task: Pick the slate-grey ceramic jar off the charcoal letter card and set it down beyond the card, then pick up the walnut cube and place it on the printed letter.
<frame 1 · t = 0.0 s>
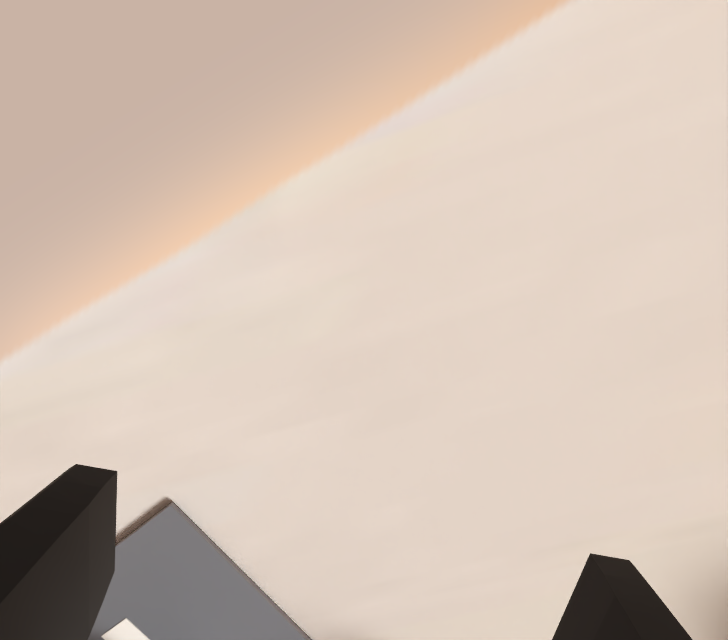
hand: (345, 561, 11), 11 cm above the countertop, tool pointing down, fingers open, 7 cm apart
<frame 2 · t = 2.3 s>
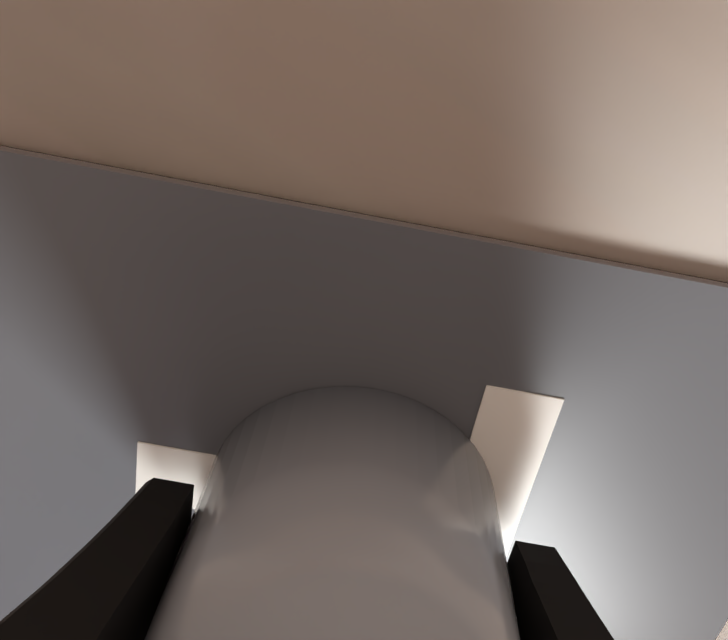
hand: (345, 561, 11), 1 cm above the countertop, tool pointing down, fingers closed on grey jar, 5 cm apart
letter card: (351, 499, 12), on the countertop
grey jar: (350, 508, 12), resting on letter card, touching gripper
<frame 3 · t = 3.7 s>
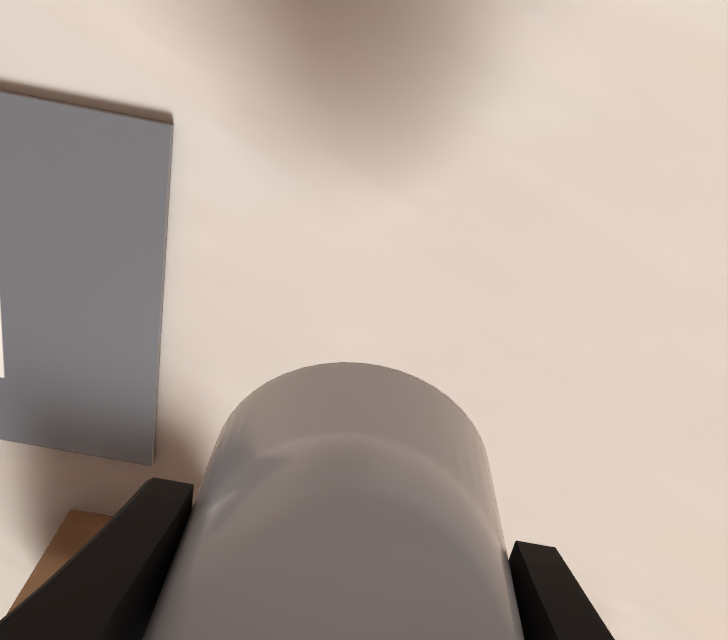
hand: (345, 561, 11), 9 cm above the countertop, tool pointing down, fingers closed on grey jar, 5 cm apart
grey jar: (350, 482, 12), point 7 cm above the countertop, touching gripper
walnut cube: (147, 578, 23), on the countertop
when the fingers open (3 cm above the countertop, at t = 5.3 s): grey jar drops 1 cm, on the countertop.
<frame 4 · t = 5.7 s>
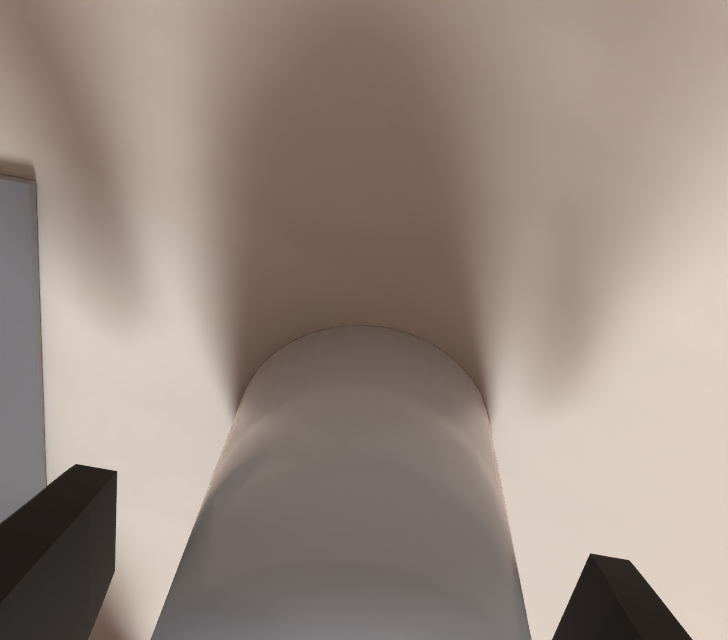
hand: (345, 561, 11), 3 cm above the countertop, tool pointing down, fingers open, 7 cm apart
grey jar: (362, 437, 13), on the countertop
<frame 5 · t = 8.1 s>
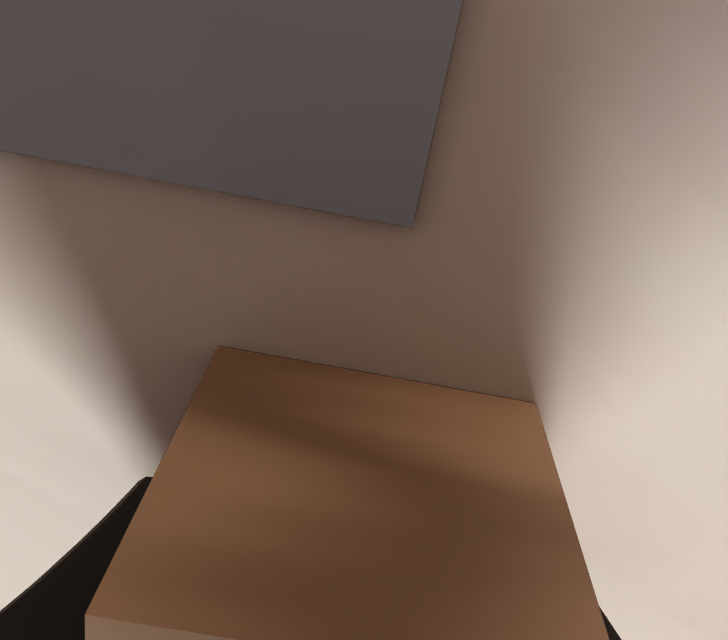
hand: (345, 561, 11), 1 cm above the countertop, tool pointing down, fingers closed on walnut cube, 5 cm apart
walnut cube: (351, 498, 12), on the countertop, touching gripper
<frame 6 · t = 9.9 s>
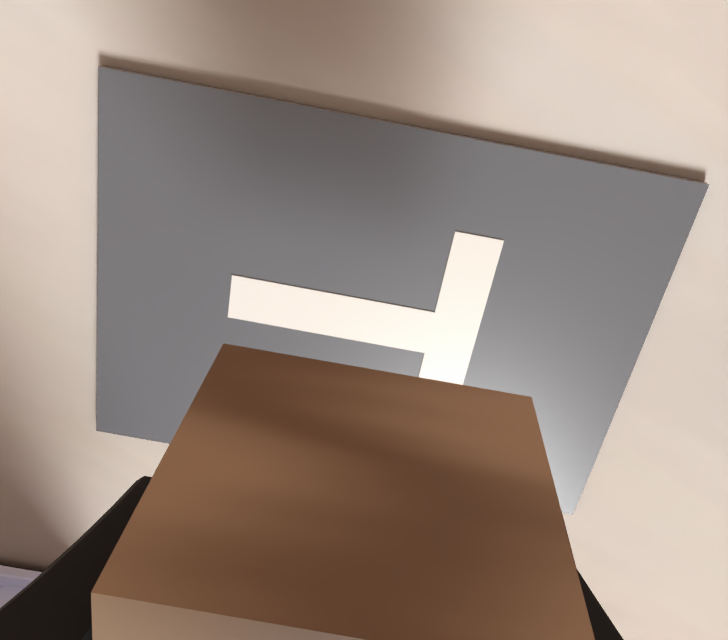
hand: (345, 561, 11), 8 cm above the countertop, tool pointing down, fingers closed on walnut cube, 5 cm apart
letter card: (368, 318, 18), on the countertop
walnut cube: (354, 490, 12), point 7 cm above the countertop, touching gripper
when the fingers open (3 cm above the countertop, at t = 11.4 s): walnut cube stays where it is, resting on letter card.
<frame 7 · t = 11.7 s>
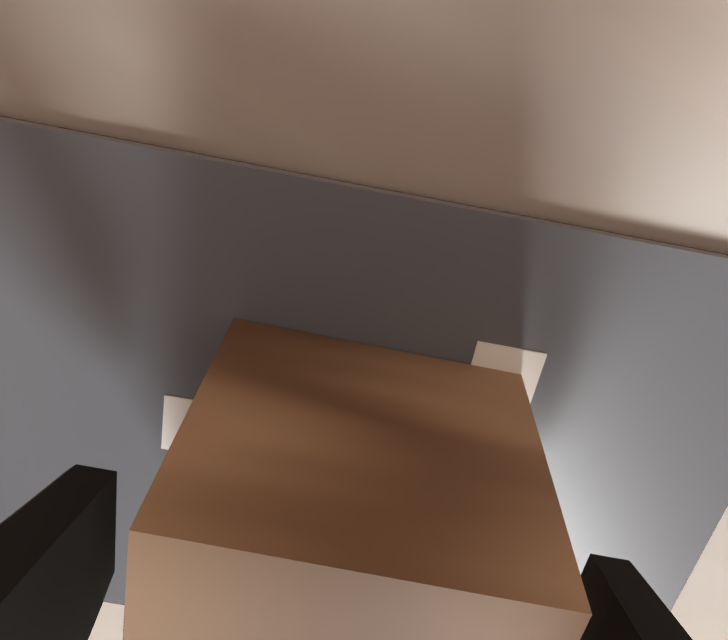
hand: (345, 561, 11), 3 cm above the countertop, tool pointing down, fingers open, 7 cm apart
letter card: (356, 449, 13), on the countertop
walnut cube: (351, 461, 13), resting on letter card
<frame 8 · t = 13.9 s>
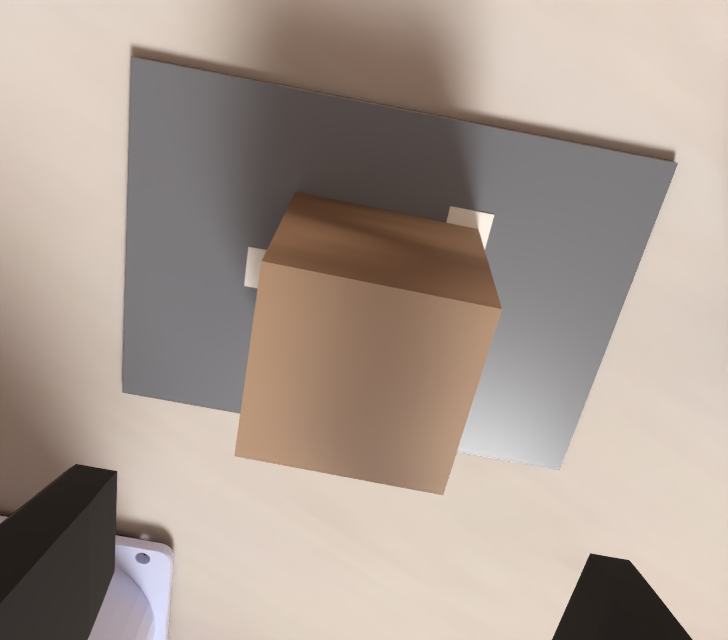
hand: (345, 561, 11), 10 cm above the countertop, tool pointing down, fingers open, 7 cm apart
letter card: (372, 286, 20), on the countertop
walnut cube: (369, 293, 20), resting on letter card
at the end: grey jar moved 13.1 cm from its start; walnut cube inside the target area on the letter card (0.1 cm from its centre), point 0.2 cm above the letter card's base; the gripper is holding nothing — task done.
